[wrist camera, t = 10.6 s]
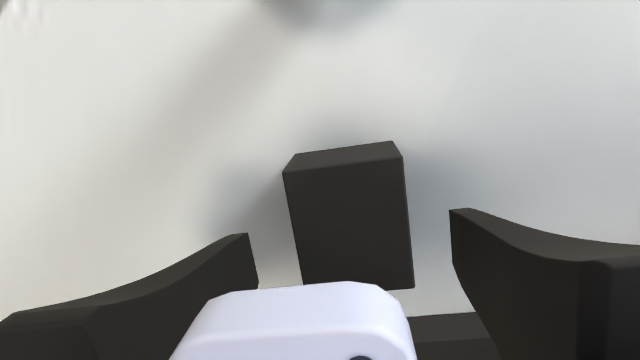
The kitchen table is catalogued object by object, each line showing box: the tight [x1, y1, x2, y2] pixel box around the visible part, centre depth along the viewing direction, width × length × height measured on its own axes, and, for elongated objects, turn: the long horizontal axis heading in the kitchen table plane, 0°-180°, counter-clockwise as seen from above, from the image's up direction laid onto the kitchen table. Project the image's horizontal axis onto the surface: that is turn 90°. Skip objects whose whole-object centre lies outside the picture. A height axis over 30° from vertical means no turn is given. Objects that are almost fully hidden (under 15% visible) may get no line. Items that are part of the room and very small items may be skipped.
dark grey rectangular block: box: [282, 141, 415, 291], centre depth 15 cm, size 4×6×3 cm
